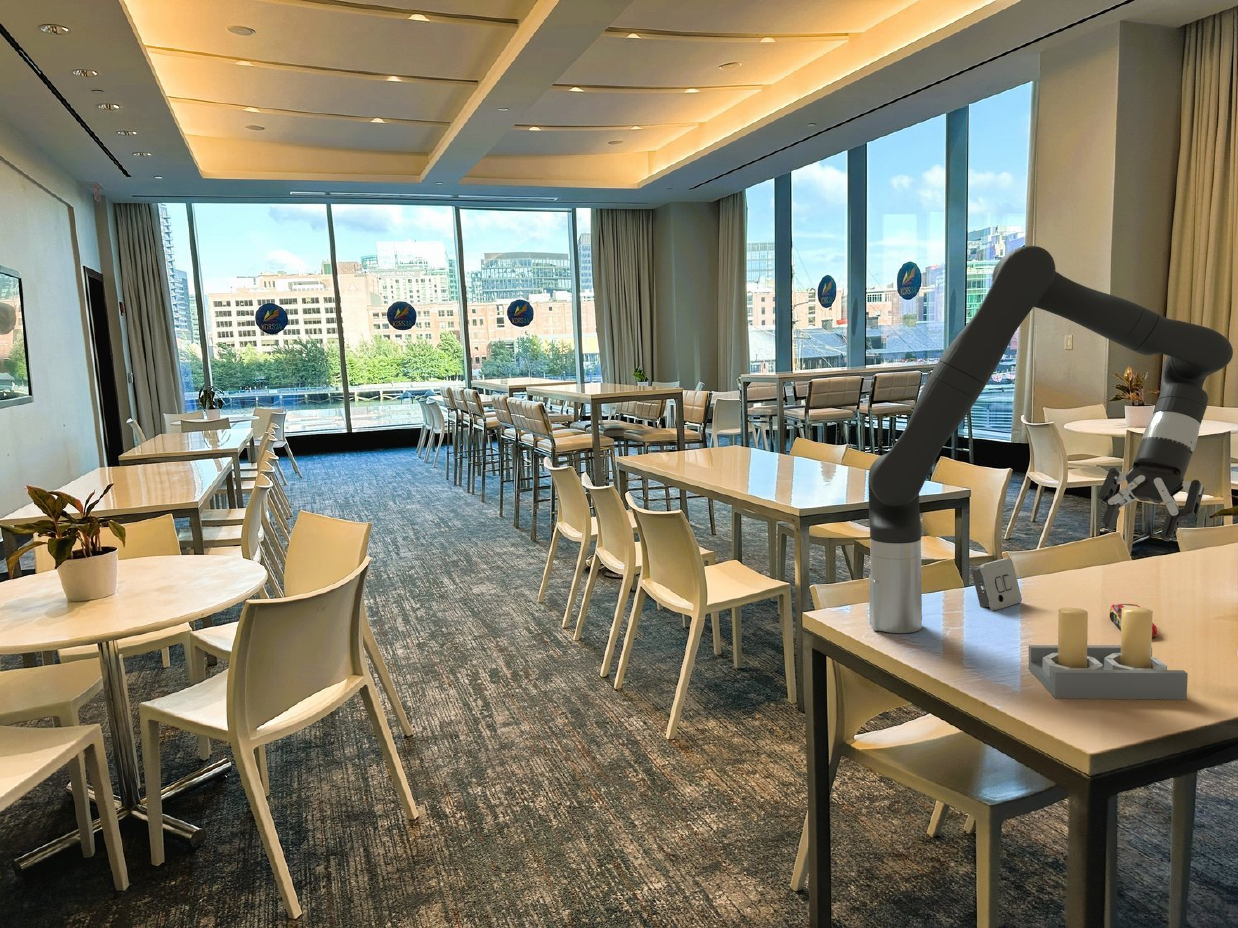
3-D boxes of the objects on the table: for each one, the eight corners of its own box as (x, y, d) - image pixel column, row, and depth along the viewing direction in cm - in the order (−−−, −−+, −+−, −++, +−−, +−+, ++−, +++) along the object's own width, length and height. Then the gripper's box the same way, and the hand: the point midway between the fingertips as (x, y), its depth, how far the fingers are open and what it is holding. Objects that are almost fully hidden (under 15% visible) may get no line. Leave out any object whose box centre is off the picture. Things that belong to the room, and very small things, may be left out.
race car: (1160, 642, 147) (1160, 620, 146) (1124, 640, 148) (1125, 618, 148) (1139, 618, 159) (1139, 598, 158) (1106, 617, 161) (1107, 597, 160)
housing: (1055, 698, 125) (1055, 623, 124) (1028, 668, 137) (1029, 600, 135) (1186, 699, 122) (1189, 623, 121) (1147, 669, 134) (1149, 599, 133)
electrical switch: (994, 611, 167) (990, 565, 166) (971, 608, 171) (967, 563, 171) (1023, 603, 171) (1019, 558, 171) (1000, 600, 176) (996, 556, 176)
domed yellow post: (1126, 677, 127) (1128, 613, 126) (1115, 668, 131) (1117, 606, 130) (1155, 678, 126) (1157, 613, 125) (1143, 669, 130) (1145, 606, 129)
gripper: (1114, 430, 143) (1082, 517, 141) (1209, 440, 132) (1176, 535, 130) (1129, 448, 148) (1099, 532, 146) (1223, 459, 136) (1191, 551, 134)
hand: (1135, 533), depth 138 cm, fingers open, 8 cm apart
